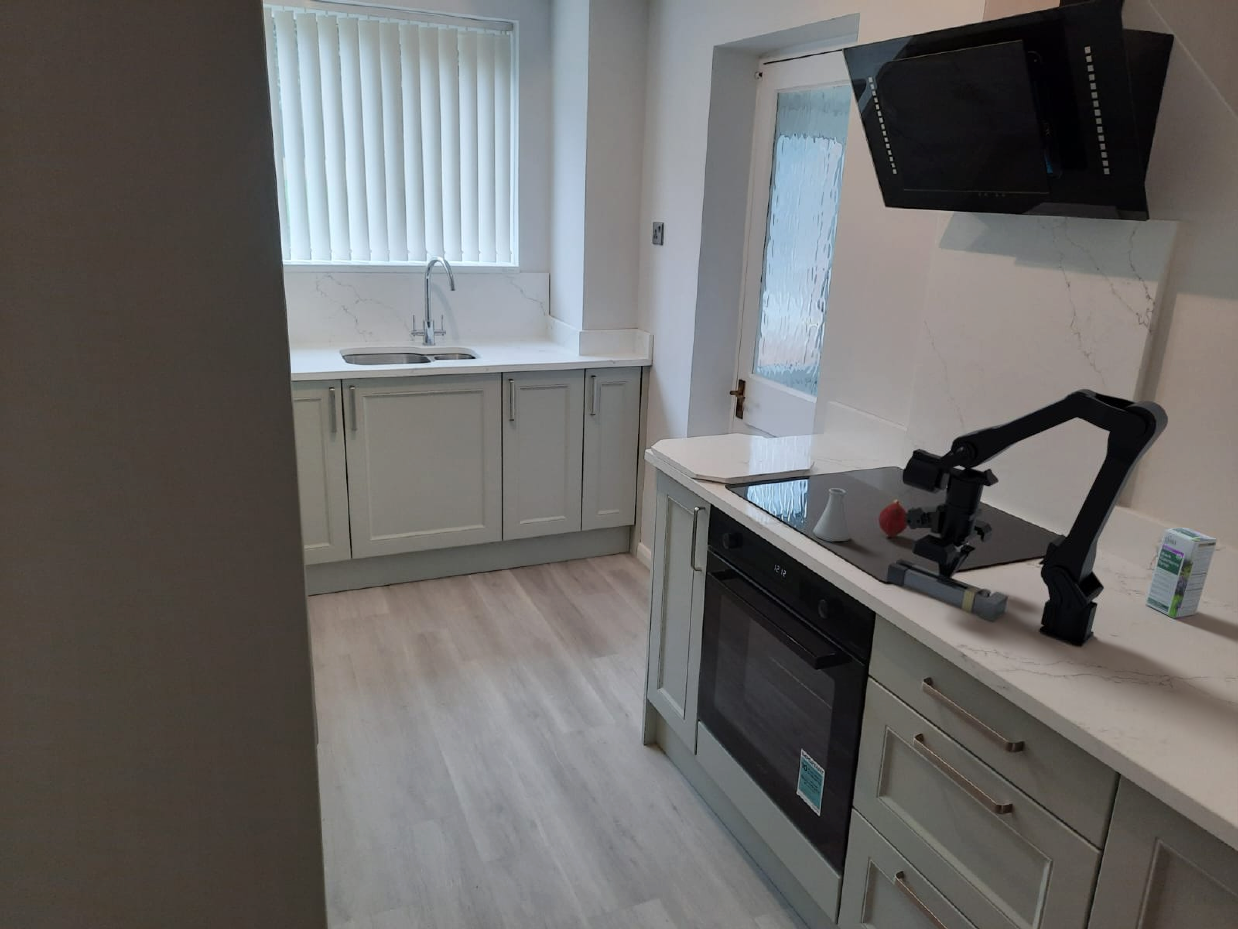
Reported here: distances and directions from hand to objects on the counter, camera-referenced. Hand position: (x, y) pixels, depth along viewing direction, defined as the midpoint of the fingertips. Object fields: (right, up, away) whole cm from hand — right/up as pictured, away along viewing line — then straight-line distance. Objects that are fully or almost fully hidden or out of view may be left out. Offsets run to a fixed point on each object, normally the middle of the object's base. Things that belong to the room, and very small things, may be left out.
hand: (943, 582), depth 152 cm
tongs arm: (-1, -2, -1) cm, 2 cm away
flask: (-15, +6, +23) cm, 28 cm away
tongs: (-1, -2, -3) cm, 4 cm away
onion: (-2, +6, +24) cm, 25 cm away
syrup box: (+39, -5, -3) cm, 39 cm away
